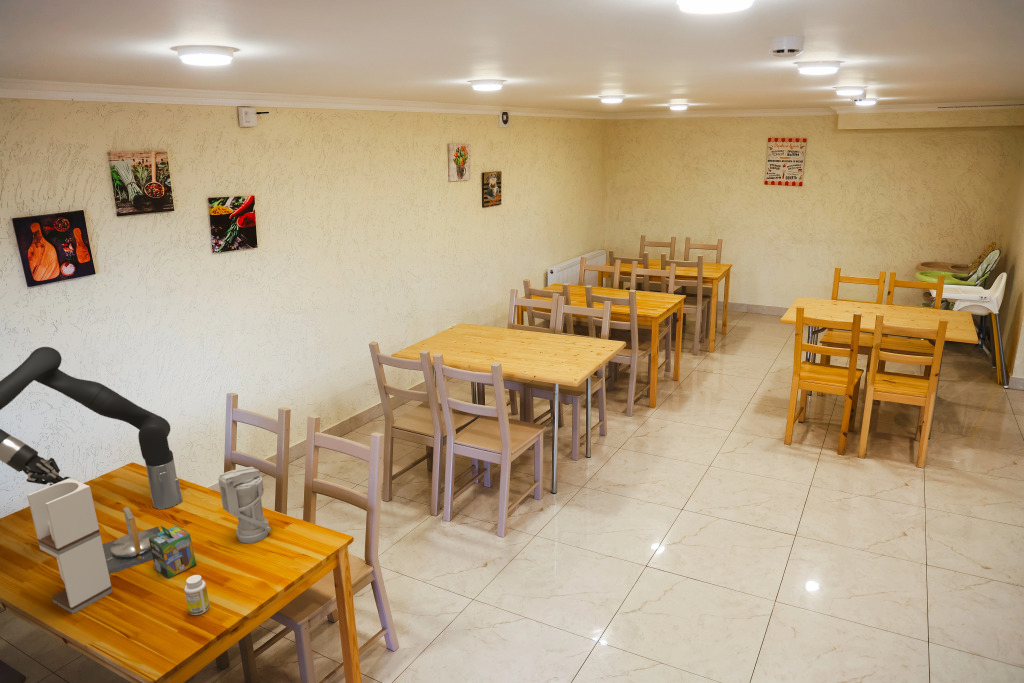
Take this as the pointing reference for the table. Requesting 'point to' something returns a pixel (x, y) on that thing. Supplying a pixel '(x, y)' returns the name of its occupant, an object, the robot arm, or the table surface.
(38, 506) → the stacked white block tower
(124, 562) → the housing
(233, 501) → the gray strapped canister
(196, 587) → the supplement bottle
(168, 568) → the chalk box
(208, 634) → the table surface
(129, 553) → the dial
